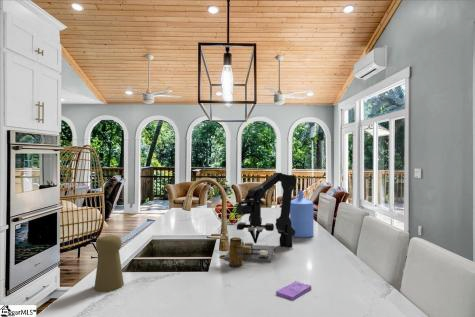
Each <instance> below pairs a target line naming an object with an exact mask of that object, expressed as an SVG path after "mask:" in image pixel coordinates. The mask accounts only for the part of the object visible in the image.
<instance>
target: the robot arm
mask: <svg viewBox="0 0 475 317" xmlns="http://www.w3.org/2000/svg"><path fill="white" fill-rule="evenodd" d="M279 182H280V186H281V188H282V199H281V208H280V215H279V217H278V218H276V219H275V224H274V223H273V222H270V223H268V222H266V223H265V224H262V223H263V222H262V221H263V218H262V217H261V216H262V213H261V212H262V211H261V210H262V208H261V205H263V204H265V202H264V201H263V200H262V199H263V198H264V196H265V195H266V192H267V191H269V190H270V189H271V188H273V187H274V186H275V185H276V184H277V183H279ZM296 186H297V177H296V176H295V175H294V174H286V173H282V172H273V174H272V175H271V176H270V177H268V178H266V180H264V181H263V182H262V183H260V184H259V185H257V186H254V187H253V186H252V188H250V189H248V191H247V194H246V196H245V198H244V199H243V201H242V200H241V201H238V204H237V205H236V207H235V211H236V213H237V215H239V216H243V215H244V216H245V215H248V222H249V223H248V224H247V223H246V222H241V221H240V222H238V223H237V225H236V230H237V231H238V230H239V231H243V230H244V229H247V232H248V233H250V236H251V237H252V239H253V244H257V243H258V240H259V235H260V233H263V230H265V231H266V232H267V231H268V232H273V231H274V230H275V229H276V230H277V234H279V235H280V236H279V246H280V247H281V248H282V247H286V248H293V245H294V244H293V235H295V230H294V229H293V228H292V225H291V220H290V206H291V201H292V197H293V196H292V194H293V190H294V189H295V188H296Z"/></svg>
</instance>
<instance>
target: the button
mask: <svg viewBox="0 0 475 317" xmlns="http://www.w3.org/2000/svg"><path fill="white" fill-rule="evenodd" d="M259 255H262V257H265V255H268V251H267V250H260V251H259Z"/></svg>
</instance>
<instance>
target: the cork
mask: <svg viewBox="0 0 475 317" xmlns="http://www.w3.org/2000/svg"><path fill="white" fill-rule="evenodd" d="M95 247H96V248H95V249H96V251H97V252H98V255H97V264H96V272H95V278H94V288H93V290H94V291H95V292H98V293H107V292H108V293H109V292H114V290H115V291H117V289H118V290H120V289H122V288H123V287H124V283H125V282H124V276H123V275H124V274H123V269H122V262H121V256H120V250H121V248H122V239H121V237H120V236H118V235H111V234H110V235H104V236H101V237H99V238H98V239H97V240H96V243H95ZM122 286H123V287H122ZM119 288H120V289H119Z"/></svg>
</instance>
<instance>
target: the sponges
mask: <svg viewBox="0 0 475 317" xmlns="http://www.w3.org/2000/svg"><path fill="white" fill-rule="evenodd" d="M311 290H312V285H311V284H307V283H303V282H300V281H297V280H295V281H293V282H291V283H289V284H287V285H285V286H283V287H281V288H279V289H276V290H275V294H276V295H277V296H278V297H279V296H280V297H282V298H285V299H287V300H291V301H293V300H296V299H297V298H299V297H300V296H302V295H304V294H306V293H307V292H310V291H311Z"/></svg>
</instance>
